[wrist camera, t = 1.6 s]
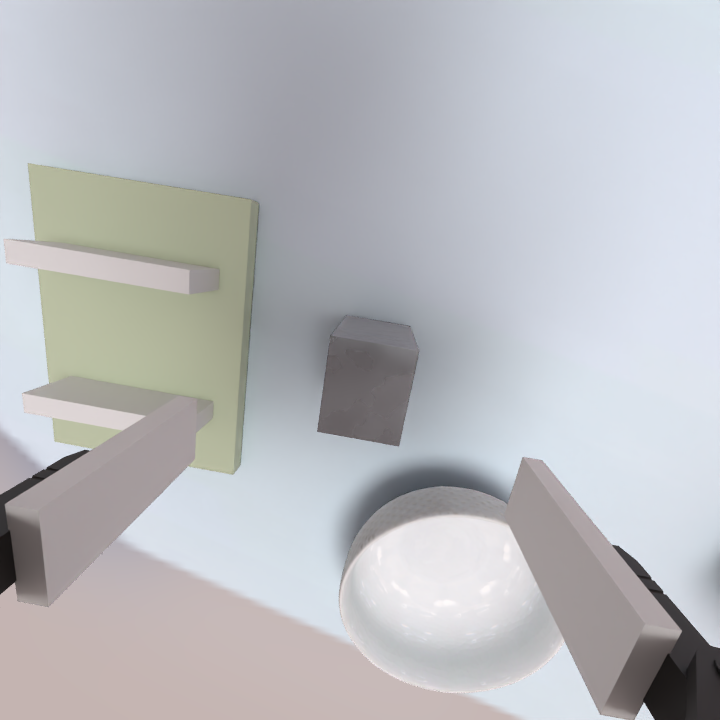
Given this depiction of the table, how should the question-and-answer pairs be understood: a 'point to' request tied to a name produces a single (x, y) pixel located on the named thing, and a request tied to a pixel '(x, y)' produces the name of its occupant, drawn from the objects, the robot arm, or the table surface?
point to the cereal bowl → (445, 594)
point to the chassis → (141, 306)
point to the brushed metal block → (368, 380)
